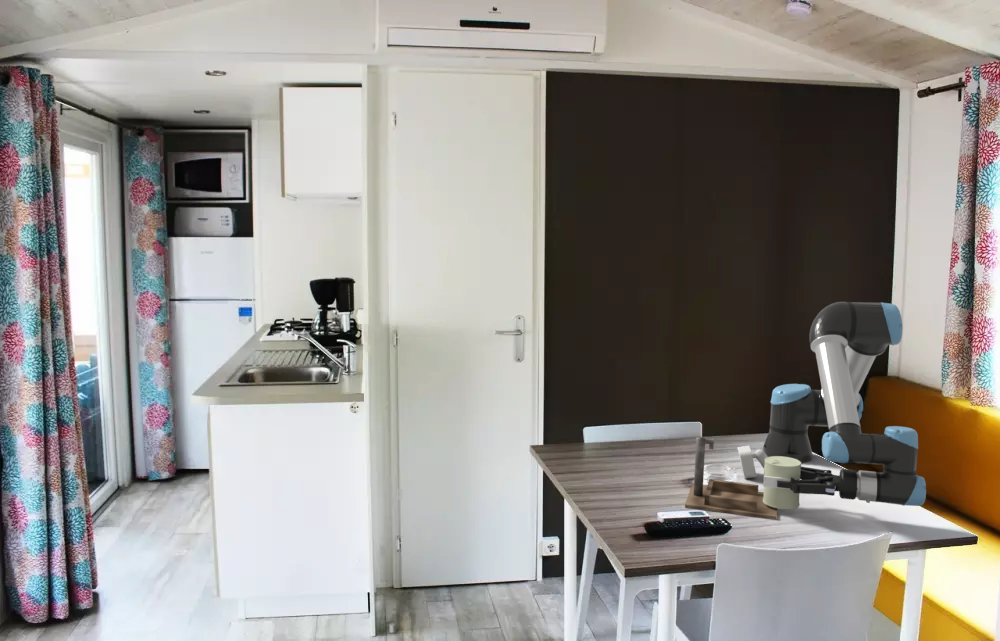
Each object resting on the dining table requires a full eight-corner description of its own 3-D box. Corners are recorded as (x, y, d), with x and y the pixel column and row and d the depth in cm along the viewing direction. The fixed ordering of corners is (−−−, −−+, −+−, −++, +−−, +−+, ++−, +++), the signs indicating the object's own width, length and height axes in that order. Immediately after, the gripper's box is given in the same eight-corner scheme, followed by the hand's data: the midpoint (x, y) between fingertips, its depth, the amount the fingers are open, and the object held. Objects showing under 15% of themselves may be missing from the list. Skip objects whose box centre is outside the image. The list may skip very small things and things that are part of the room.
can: (755, 500, 208) (756, 456, 206) (781, 495, 211) (783, 452, 210) (780, 511, 199) (782, 466, 198) (807, 506, 203) (809, 462, 201)
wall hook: (782, 480, 226) (775, 447, 226) (746, 486, 229) (739, 453, 228) (778, 472, 234) (771, 440, 233) (743, 477, 236) (736, 446, 236)
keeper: (776, 496, 214) (780, 437, 212) (776, 519, 198) (780, 455, 195) (692, 486, 222) (694, 429, 220) (684, 507, 205) (687, 445, 203)
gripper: (860, 513, 189) (762, 502, 196) (852, 486, 209) (763, 477, 216) (861, 484, 188) (763, 474, 195) (853, 459, 208) (764, 451, 215)
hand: (763, 475), depth 206 cm, fingers closed on can, 9 cm apart
